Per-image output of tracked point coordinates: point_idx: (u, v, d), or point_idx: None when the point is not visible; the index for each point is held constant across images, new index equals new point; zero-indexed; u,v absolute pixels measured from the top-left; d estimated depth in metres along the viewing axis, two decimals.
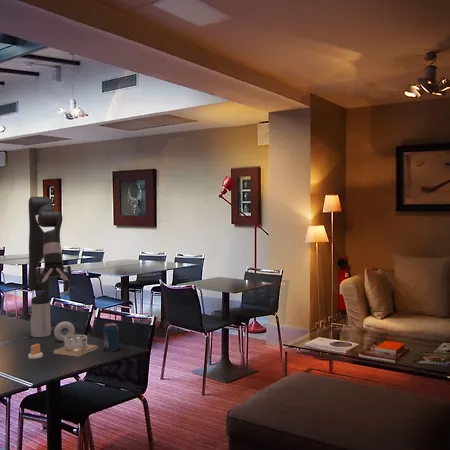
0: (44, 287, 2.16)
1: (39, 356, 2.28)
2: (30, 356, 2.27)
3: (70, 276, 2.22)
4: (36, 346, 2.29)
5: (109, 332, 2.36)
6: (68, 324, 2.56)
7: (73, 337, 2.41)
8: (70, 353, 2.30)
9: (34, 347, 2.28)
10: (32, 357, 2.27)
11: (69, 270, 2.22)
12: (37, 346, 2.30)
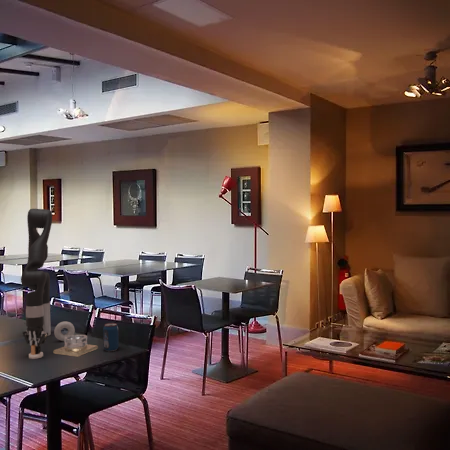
0: None
1: (39, 356, 2.28)
2: (30, 356, 2.27)
3: (39, 343, 2.27)
4: None
5: (109, 332, 2.36)
6: (68, 324, 2.56)
7: (73, 337, 2.41)
8: (70, 353, 2.30)
9: (34, 347, 2.28)
10: (32, 357, 2.27)
11: (41, 338, 2.26)
12: None
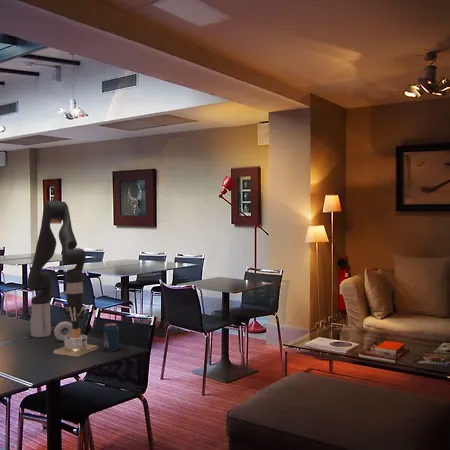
0: (72, 326, 2.37)
1: None
2: None
3: (78, 318, 2.35)
4: (77, 330, 2.37)
5: (109, 332, 2.36)
6: (68, 324, 2.56)
7: None
8: (70, 353, 2.30)
9: (75, 331, 2.36)
10: None
11: (81, 313, 2.35)
12: (78, 330, 2.38)
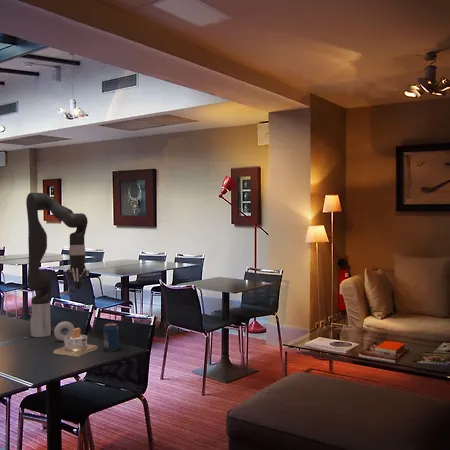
0: (75, 286, 2.51)
1: None
2: None
3: (80, 278, 2.49)
4: (77, 330, 2.37)
5: (109, 332, 2.36)
6: (68, 324, 2.56)
7: None
8: (70, 353, 2.30)
9: (75, 331, 2.36)
10: None
11: (83, 274, 2.48)
12: (78, 330, 2.38)
